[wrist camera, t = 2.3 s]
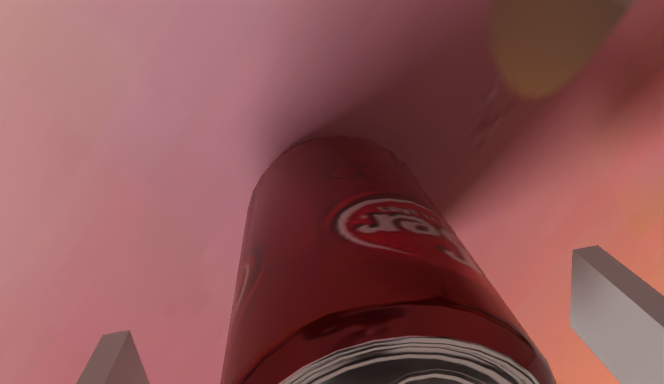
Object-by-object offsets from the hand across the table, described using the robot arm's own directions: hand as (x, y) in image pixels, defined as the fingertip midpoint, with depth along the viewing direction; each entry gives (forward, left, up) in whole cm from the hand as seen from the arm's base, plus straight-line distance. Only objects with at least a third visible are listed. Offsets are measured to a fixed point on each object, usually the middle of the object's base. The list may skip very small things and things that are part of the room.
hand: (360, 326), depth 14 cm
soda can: (0, 0, -7) cm, 7 cm away
